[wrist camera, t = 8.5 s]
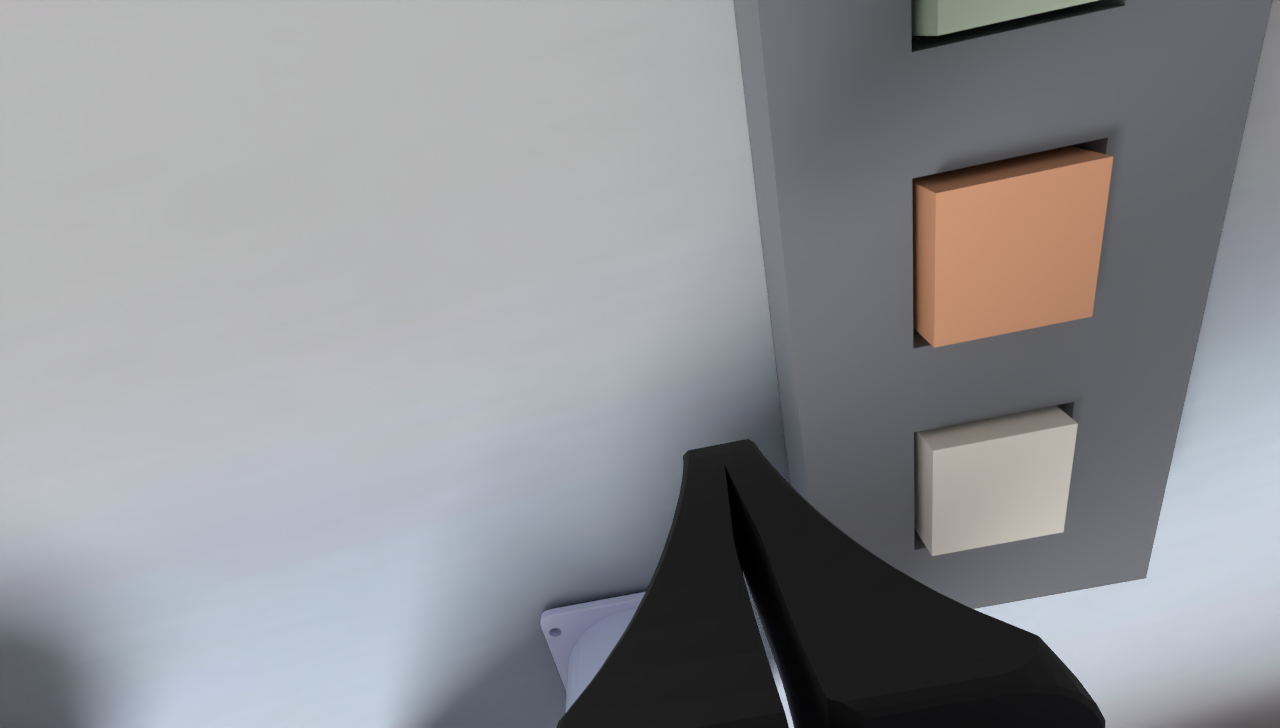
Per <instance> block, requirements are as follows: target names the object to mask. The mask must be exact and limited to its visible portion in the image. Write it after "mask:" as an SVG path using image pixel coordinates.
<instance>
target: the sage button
mask: <svg viewBox="0 0 1280 728" xmlns="http://www.w3.org/2000/svg"><path fill="white" fill-rule="evenodd" d="M1093 1H1098V0H911V36H939V35H944V34H948V33H953V32H957V31H962V30H966V29H971V28H975V27H980V26H984V25H989V24H993V23H998V22H1003V21H1007V20H1012V19H1016V18H1021V17H1025V16H1030V15H1034V14H1039V13H1043V12H1048V11H1052V10H1057V9H1062V8H1066V7H1071V6H1075V5H1080V4H1084V3H1089V2H1093Z"/></svg>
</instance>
